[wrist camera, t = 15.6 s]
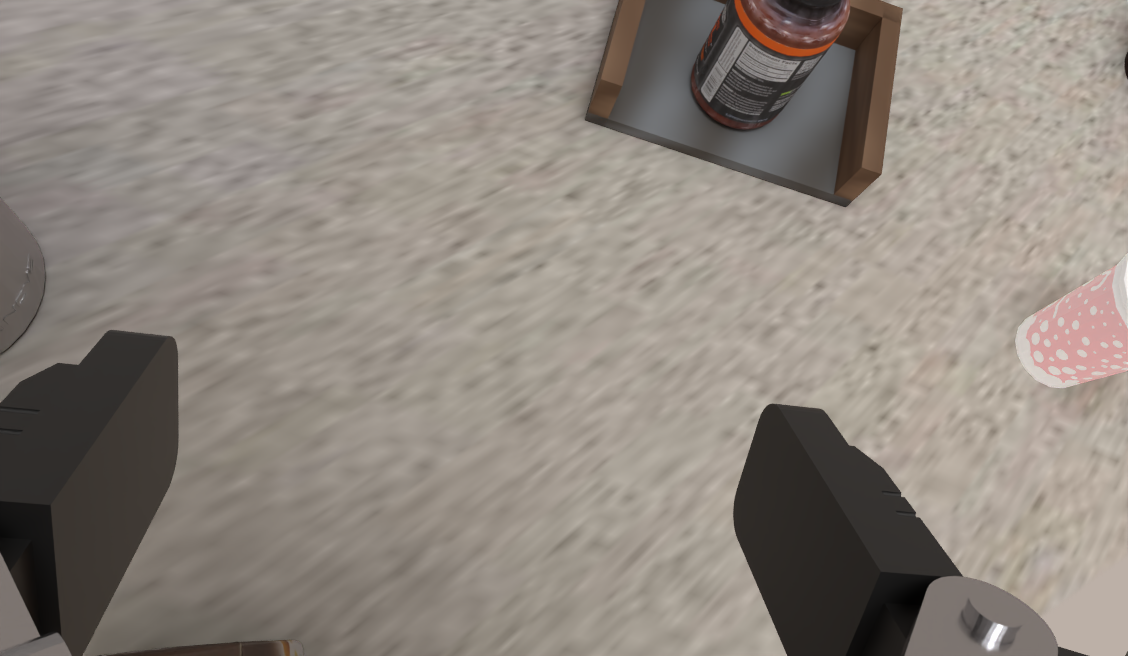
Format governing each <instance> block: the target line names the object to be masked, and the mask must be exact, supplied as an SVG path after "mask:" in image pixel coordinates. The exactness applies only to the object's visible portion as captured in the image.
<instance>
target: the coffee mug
mask: <svg viewBox="0 0 1128 656" xmlns="http://www.w3.org/2000/svg"><path fill="white" fill-rule="evenodd" d="M1125 70H1126V75H1127V78H1128V52H1127V55H1126V58H1125Z"/></svg>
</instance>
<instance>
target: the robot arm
mask: <svg viewBox="0 0 1128 656" xmlns="http://www.w3.org/2000/svg"><path fill="white" fill-rule="evenodd" d="M44 284H45V268H44V260H43V256H42V253H41V251H40V249H39V246H38V244H37V241H36V240H35V238H34V237H33V235H32V234H31V233H30V231H29V230H28V229H27V227H26V226H25V225H24V224H23V222H22V221H21V220H20V219H19V218H18V217H17V216H16V214H15V213H14V212H13V211H12V210H11V209H10V208H9V206H8V205H7V204H6V203H5V202H4V201H3V200H2V198H1V197H0V353H2V352H3V351H5V350H6V349H7V348H9V347H10V346H11V345H12V344H13V343H14V342H15V341H16V340H17V339H18V337H19V336H20V335H21V334H22V333H23V332H24V331H25V330H26V328H27V327H28V325H29V324H30V322H31V321H32V319H33V318H34V316H35V314H36V312H37V309H38V307H39V304H40V302H41V299H42V297H43V291H44ZM177 453H178V351H177V345H176V341H175V339H174V338H173V337H171V336H162V335H153V334H144V333H135V332H126V331H117V330H110V331H108V332H107V333H105V334H104V336H103V337H102V338H101V339H100V340H99V342H98V343H97V344H96V345H95V346H94V347H93V349H92V350H91V351H90V352H89V353H88V355H87V356H86V357H85V358H84V359H83V360H82V362H81V363H80V364H79V365H72V364H62V363H57V364H55V365H53V366H51V367H49V368H47V369H45V370H43V371H41V372H39V373H37V374H35V375H33V376H31V377H29V378H27V379H25V380H23V381H21V382H20V383H19V384H18V385H17V386H16V387H15V388H14V389H13V390H12V391H11V392H10V393H9V395H8V396H7V397H6V398H5V399H4V400H3V401H2V402H1V403H0V656H82V655H83V653H84V651H85V649H86V647H87V645H88V644H89V642H90V640H91V638H92V636H93V634H94V632H95V630H96V628H97V626H98V624H99V622H100V620H101V618H102V616H103V614H104V612H105V610H106V609H107V607H108V605H109V603H110V601H111V599H112V597H113V595H114V593H115V591H116V589H117V587H118V585H119V583H120V581H121V579H122V577H123V576H124V574H125V572H126V570H127V568H128V566H129V564H130V562H131V560H132V558H133V556H134V554H135V552H136V550H137V548H138V546H139V544H140V543H141V541H142V539H143V537H144V535H145V533H146V531H147V529H148V527H149V525H150V523H151V521H152V519H153V517H154V515H155V513H156V511H157V509H158V508H159V506H160V504H161V502H162V500H163V498H164V496H165V494H166V492H167V490H168V488H169V486H170V483H171V480H172V477H173V473H174V470H175V465H176V460H177ZM915 514H916V512H915V511H914V509H913V508H912V507H911V505H910V504H909V503H908V501H907V500H906V498H905V497H901V492H900V490H899V489H898V488H897V486H896V485H895V484H894V482H893V481H892V480H891V478H890V477H889V475H888V474H887V473H886V471H885V470H884V469H883V468H882V467H881V466H879V465H878V464H877V463H876V462H874V461H873V460H872V459H870V458H869V457H868V456H867V455H865V454H864V453H863V452H861V451H860V450H859V449H857V448H856V447H855V446H849V445H848V443H847V442H846V440H845V439H844V438H843V436H842V435H841V433H840V432H839V431H838V429H837V428H836V426H835V425H834V423H833V422H832V421H831V419H830V418H829V416H828V415H827V414H826V413H825V411H823V410H822V409H817V408H808V407H799V406H790V405H781V404H769V405H768V406H767V407H766V408H765V409H764V410H763V412H762V414H761V416H760V419H759V421H758V424H757V428H756V431H755V434H754V437H753V440H752V443H751V447H750V450H749V453H748V456H747V459H746V462H745V466H744V469H743V472H742V475H741V478H740V481H739V485H738V488H737V491H736V495H735V500H734V511H733V518H734V528H735V532H736V536H737V539H738V541H739V543H740V546H741V548H742V550H743V553H744V555H745V557H746V560H747V562H748V564H749V567H750V569H751V572H752V574H753V576H754V579H755V581H756V583H757V586H758V588H759V590H760V593H761V595H762V597H763V600H764V602H765V604H766V607H767V609H768V611H769V614H770V616H771V618H772V621H773V623H774V625H775V628H776V630H777V633H778V635H779V637H780V640H781V642H782V644H783V647H784V649H785V651H786V654H787V656H1088V655H1084V654H1081V653H1078V652H1074V651H1071V650H1068V649H1064V648H1061V647H1058V644H1057V642H1056V639H1055V636H1054V634H1053V632H1052V631H1051V629H1050V628H1049V626H1048V625H1047V624H1046V622H1045V621H1044V620H1043V619H1042V618H1041V617H1040V616H1039V615H1038V614H1037V613H1036V612H1035V611H1034V610H1033V609H1031V608H1030V607H1029V606H1028V605H1026V604H1025V603H1024V602H1022V601H1021V600H1020V599H1018V598H1016V597H1015V596H1013V595H1011V594H1010V593H1008V592H1006V591H1004V590H1002V589H1000V588H998V587H996V586H994V585H991V584H989V583H986V582H983V581H980V580H977V579H972V578H968V577H963V576H962V574H961V573H960V572H959V570H958V569H957V568H956V566H955V565H954V563H953V562H952V561H951V559H950V558H949V557H948V555H947V554H946V553H945V551H944V550H943V549H942V547H941V546H940V544H939V543H938V542H937V540H936V539H935V538H934V536H933V535H932V534H931V532H930V531H929V530H928V528H927V527H926V526H925V524H924V523H923V521H922V520H921V519H920V518H918V517H916V516H915ZM1125 656H1128V652H1127V654H1126V655H1125Z"/></svg>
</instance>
